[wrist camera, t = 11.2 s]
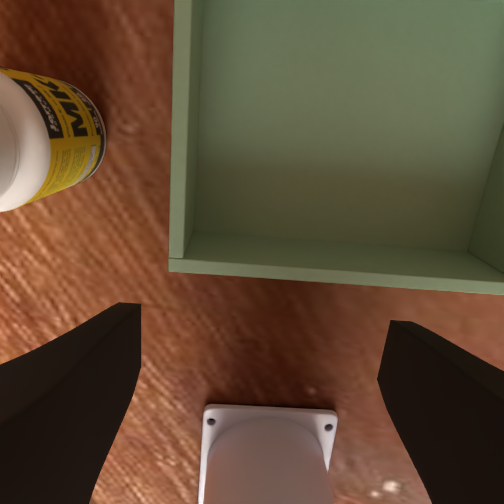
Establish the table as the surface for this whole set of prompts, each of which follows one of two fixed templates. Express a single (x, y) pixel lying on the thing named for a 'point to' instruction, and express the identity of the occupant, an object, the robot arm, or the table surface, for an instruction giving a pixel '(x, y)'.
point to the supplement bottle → (45, 137)
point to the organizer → (339, 142)
